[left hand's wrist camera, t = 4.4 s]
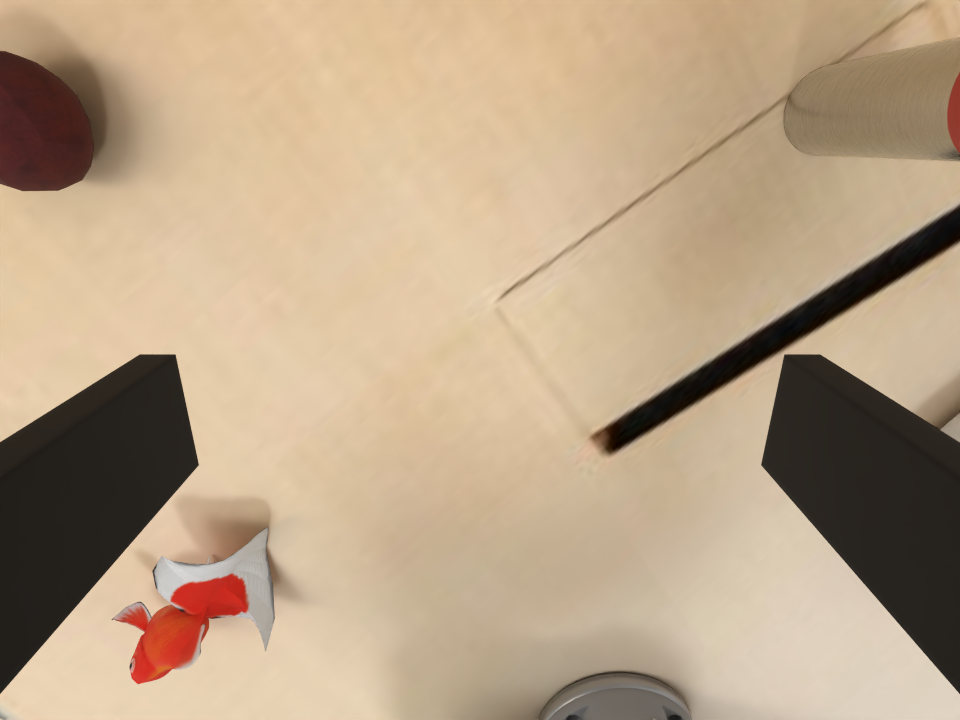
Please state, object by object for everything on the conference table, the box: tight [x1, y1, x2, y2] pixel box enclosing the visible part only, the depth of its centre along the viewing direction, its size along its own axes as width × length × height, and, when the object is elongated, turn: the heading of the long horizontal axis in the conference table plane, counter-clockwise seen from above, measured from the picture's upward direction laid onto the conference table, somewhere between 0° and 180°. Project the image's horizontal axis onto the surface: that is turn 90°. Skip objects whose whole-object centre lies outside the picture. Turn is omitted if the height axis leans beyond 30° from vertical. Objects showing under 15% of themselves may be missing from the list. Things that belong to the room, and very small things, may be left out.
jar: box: [784, 37, 960, 161], centre depth 29 cm, size 5×5×15 cm
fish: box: [112, 527, 275, 684], centre depth 45 cm, size 11×16×10 cm
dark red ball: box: [0, 51, 94, 191], centre depth 33 cm, size 7×8×7 cm
